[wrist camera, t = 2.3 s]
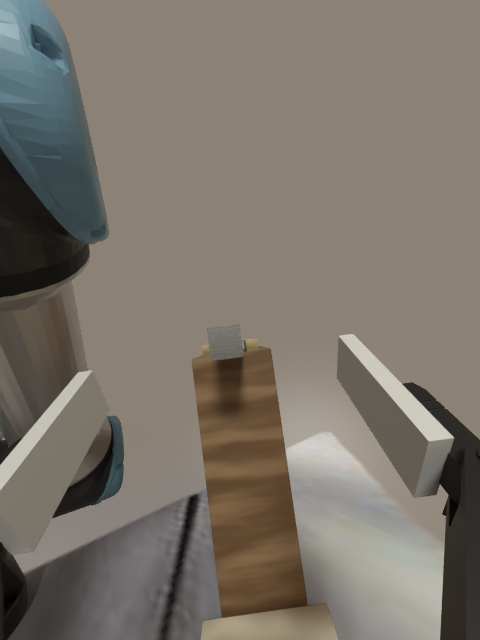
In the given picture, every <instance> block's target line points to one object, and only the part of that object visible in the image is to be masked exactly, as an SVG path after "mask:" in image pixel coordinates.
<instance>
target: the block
mask: <svg viewBox="0 0 480 640" xmlns="http://www.w3.org/2000/svg"><path fill="white" fill-rule="evenodd" d="M207 333H208V341H209V349H210V357H211V361H216V360H223V359H231V358H238V357H244V355H243V348H242V340H241V333H240V325H239V324H236V325H228V326H221V327H213V328H207Z"/></svg>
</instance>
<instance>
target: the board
mask: <svg viewBox="0 0 480 640" xmlns="http://www.w3.org/2000/svg"><path fill="white" fill-rule="evenodd" d="M201 640H338V637H337V634H336V631H335V628H334V625H333V622H332V619H331V616H330V613H329V610H328V607H327V603H324V604H317V605H310V606H303V607H296V608H289V609H282V610H275V611H268V612H261V613H254V614H247V615H240V616H233V617H226V618H219V619H212V620H205V621H203V625H202V633H201Z"/></svg>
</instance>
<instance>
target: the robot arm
mask: <svg viewBox="0 0 480 640" xmlns="http://www.w3.org/2000/svg"><path fill="white" fill-rule="evenodd" d="M108 235H109V229H108V223H107V218H106V211H105V207H104V202H103V197H102V193H101V187H100V182H99V178H98V172H97V166H96V162H95V157H94V152H93V147H92V143H91V138H90V133H89V129H88V124H87V119H86V115H85V110H84V106H83V101H82V97H81V93H80V88H79V84H78V80H77V75H76V71H75V67H74V63H73V59H72V55H71V52H70V48H69V44H68V42H67V39H66V36H65V34H64V31H63V29H62V27H61V25H60V24H59V22H58V20H57V19H56V17H55V15H54V14H53V12H52V11H51V10H50V8H49V7H48V6H47V5H46V3H45V2H44V1H43V0H0V432H1V433H2V435H1V433H0V640H6V639H7V637H8V636H9V635H10V634H11V632H12V631H13V630H14V628H15V627H16V625H17V624H18V622H19V621H20V619H21V617H22V615H23V613H24V611H25V608H26V605H27V584H26V579H25V576H24V574H23V573H22V571H21V569H20V567H19V566H18V564H17V562H16V560H15V559H14V557H13V554H19V553H27V552H33V551H34V550H35V548H36V546H37V544H38V542H39V541H40V539H41V537H42V535H43V533H44V531H45V530H46V528H47V526H48V524H49V522H50V520H51V519H52V518H55V517H58V516H60V515H63V514H66V513H69V512H72V511H75V510H78V509H80V508H83V507H86V506H89V505H95V504H98V503H100V502H101V501H102V500H105V499H107V498H110V497H112V496H114V495H115V494H116V493H117V492H118V491H119V489H120V488H121V484H122V481H123V470H124V467H123V460H124V446H123V434H122V427H121V422H120V420H119V419H118V417H116V416H107V415H108V413H109V411H110V408H109V406H108V403H107V402H106V399H105V397H104V394H103V392H102V390H101V388H100V386H99V383H98V381H97V379H96V377H95V374H94V372H93V371H92V370H91V371H88V368H87V363H86V358H85V352H84V346H83V341H82V335H81V330H80V324H79V319H78V314H77V308H76V302H75V297H74V292H73V286H72V279H74V278H75V277H77V276H78V275H79V274H80V273H81V272H82V271H83V270H84V269H85V268H86V266H87V264H88V263H89V258H90V252H89V244H95V243H96V242H98V241H103V240H105V239H107V237H108ZM337 379H338V380H339V382H340V383H341V385H342V387H343V388H344V389H345V391H346V393H347V394H348V396H349V397H350V399H351V401H352V402H353V403H354V405H355V407H356V408H357V410H358V411H359V413H360V414H361V416H362V417H363V419H364V421H365V422H366V424H367V425H368V427H369V428H370V430H371V432H372V433H373V435H374V436H375V438H376V439H377V441H378V442H379V444H380V445H381V447H382V449H383V450H384V452H385V453H386V455H387V456H388V458H389V460H390V461H391V462H392V464H393V466H394V467H395V469H396V470H397V472H398V474H399V475H400V477H401V478H402V480H403V481H404V483H405V484H406V486H407V487H408V489H409V491H410V492H411V494H412V495H413V497H414V498H417V497H425V496H431V495H436V494H437V491H438V488H439V485H440V484H441V486H442V487H443V488H444V489H445V491H446V492H447V493H448V495H449V496H448V499H447V502H446V505H445V508H444V510H443V513H442V514H443V515H445V516H446V530H445V551H444V572H443V593H442V614H441V635H440V640H480V440H479V439H478V438H477V437H476V436H475V435H474V434H473V433H472V432H470V431H469V430H468V429H467V428H466V427H465V426H464V425H463V424H462V423H461V422H460V421H459V420H458V419H457V418H455V417H454V416H453V415H452V414H451V413H450V412H449V411H448V410H447V409H445V408H444V406H443V405H442V404H440V403H439V402H438V401H436V399H435V398H434V397H433V396H432V395H431V394H430V393H429V392H428V391H427V390H425V389H423V388H422V387H420V386H418V385H416V384H414V383H405V384H401V383H400V382H399V381H398V380H397V379H396V378H395V377H394V376H393V375H392V374H391V373H390V371H389V370H388V369H387V368H386V367H385V366H384V365H383V364H382V363H381V362H380V361H379V360H378V359H377V358H376V357H375V356H374V355H373V354H372V353H371V352H370V351H369V350H368V349H367V348H366V347H365V346H364V345H363V344H362V343H361V342H360V341H359V340H358V339H357V338H356V337H355V336H354V335H353V334H349V335H342V336H339V340H338V364H337ZM3 437H4V438H5V440H2V438H3Z"/></svg>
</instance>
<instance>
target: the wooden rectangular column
mask: <svg viewBox="0 0 480 640" xmlns="http://www.w3.org/2000/svg"><path fill="white" fill-rule="evenodd" d="M244 344H245V349H243V355H244V357H238V358H231V359H223V360H216V361H211V357H210V349H209V345H205V346H202V350H203V355H202V356H200V357H197V358H194V359H192V368H193V375H194V384H195V393H196V401H197V410H198V418H199V427H200V435H201V444H202V451H203V460H204V469H205V477H206V485H207V494H208V503H209V511H210V520H211V528H212V536H213V545H214V553H215V562H216V570H217V579H218V587H219V595H220V604H221V612H222V618H226V617H233V616H240V615H247V614H254V613H261V612H268V611H275V610H282V609H289V608H296V607H303V606H308V604H307V597H306V591H305V584H304V577H303V570H302V563H301V556H300V549H299V542H298V535H297V528H296V521H295V514H294V507H293V500H292V493H291V486H290V479H289V472H288V465H287V458H286V452H285V445H284V438H283V431H282V424H281V417H280V410H279V403H278V397H277V389H276V382H275V376H274V368H273V361H272V354H271V349H270V348H265V347H262V346H259V347H258V341H257V339H249V340H244Z"/></svg>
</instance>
